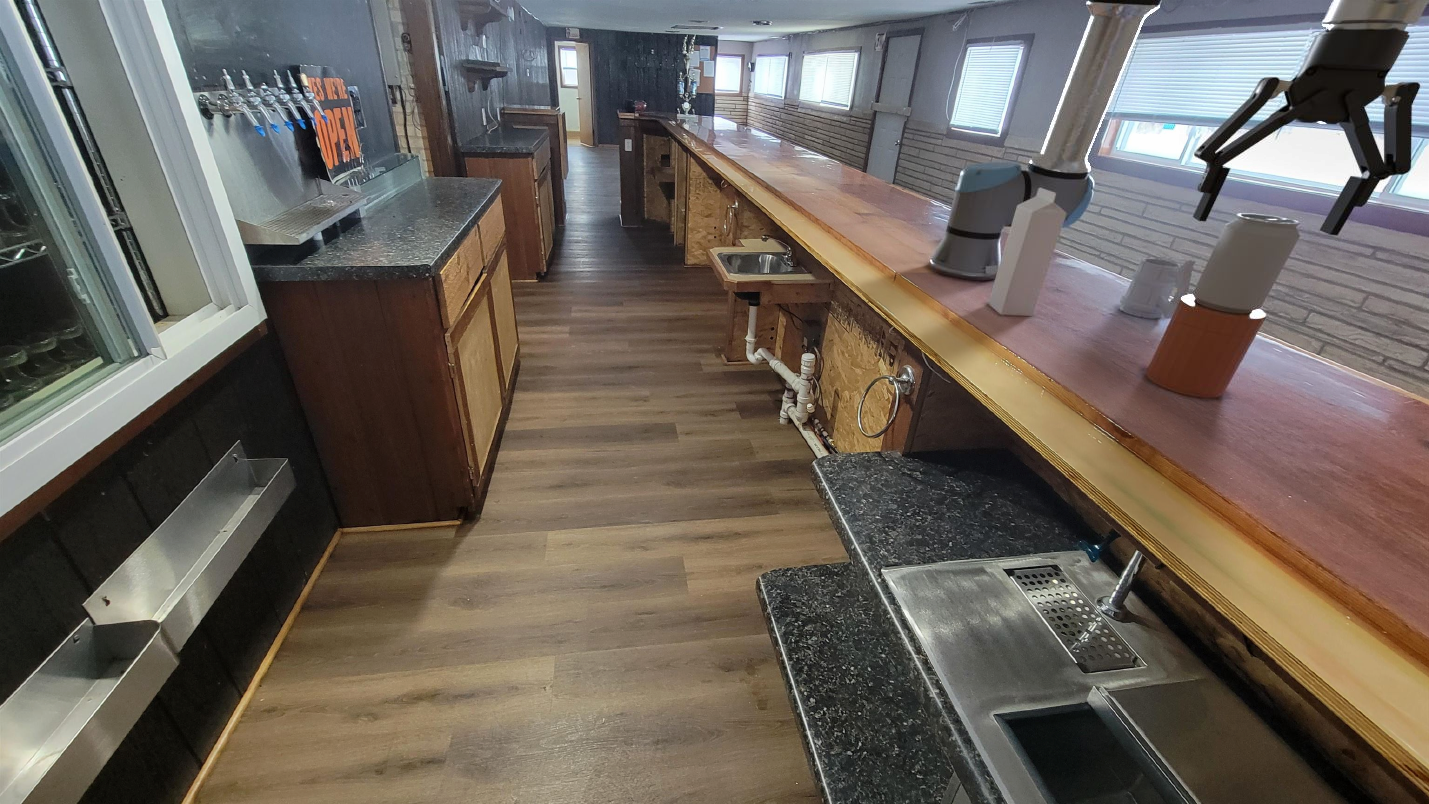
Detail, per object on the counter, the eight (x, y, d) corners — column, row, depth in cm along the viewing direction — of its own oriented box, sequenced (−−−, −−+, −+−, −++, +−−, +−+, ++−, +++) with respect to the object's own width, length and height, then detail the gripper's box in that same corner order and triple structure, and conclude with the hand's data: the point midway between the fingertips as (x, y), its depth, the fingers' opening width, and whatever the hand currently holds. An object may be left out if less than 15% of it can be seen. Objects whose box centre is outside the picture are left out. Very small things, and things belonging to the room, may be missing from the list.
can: (1194, 293, 82) (1235, 208, 76) (1260, 307, 78) (1309, 218, 72) (1184, 304, 78) (1227, 215, 72) (1254, 320, 73) (1306, 226, 67)
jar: (1139, 364, 89) (1173, 290, 83) (1210, 376, 86) (1250, 301, 80) (1154, 389, 81) (1192, 310, 75) (1232, 403, 78) (1279, 323, 72)
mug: (1143, 305, 114) (1169, 246, 108) (1190, 327, 104) (1221, 264, 98) (1108, 305, 114) (1132, 245, 108) (1151, 327, 104) (1181, 263, 98)
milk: (1000, 315, 106) (1038, 192, 95) (987, 304, 111) (1021, 186, 100) (1032, 316, 106) (1074, 194, 95) (1017, 305, 111) (1055, 187, 100)
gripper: (1239, 24, 63) (1156, 219, 74) (1549, 28, 55) (1405, 246, 66) (1216, 30, 69) (1143, 209, 80) (1493, 34, 61) (1369, 232, 72)
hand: (1261, 226), depth 73 cm, fingers open, 13 cm apart
